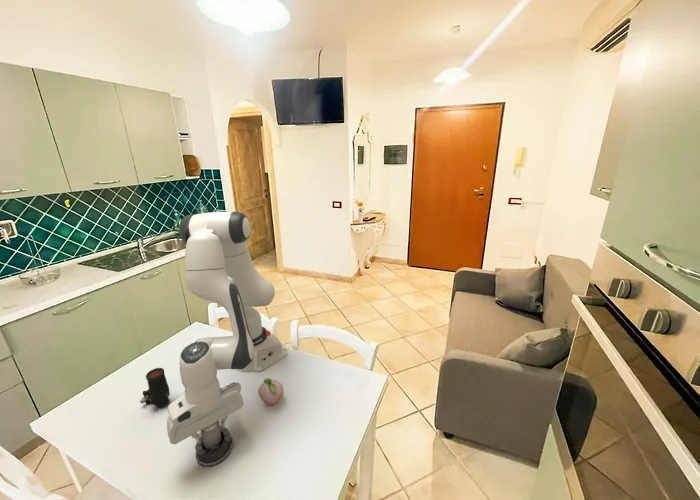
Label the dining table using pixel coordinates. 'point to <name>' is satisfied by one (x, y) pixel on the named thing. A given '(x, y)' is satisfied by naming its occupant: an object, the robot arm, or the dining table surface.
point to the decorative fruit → (271, 391)
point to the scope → (156, 389)
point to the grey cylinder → (211, 435)
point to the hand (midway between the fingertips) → (211, 433)
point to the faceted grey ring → (215, 450)
